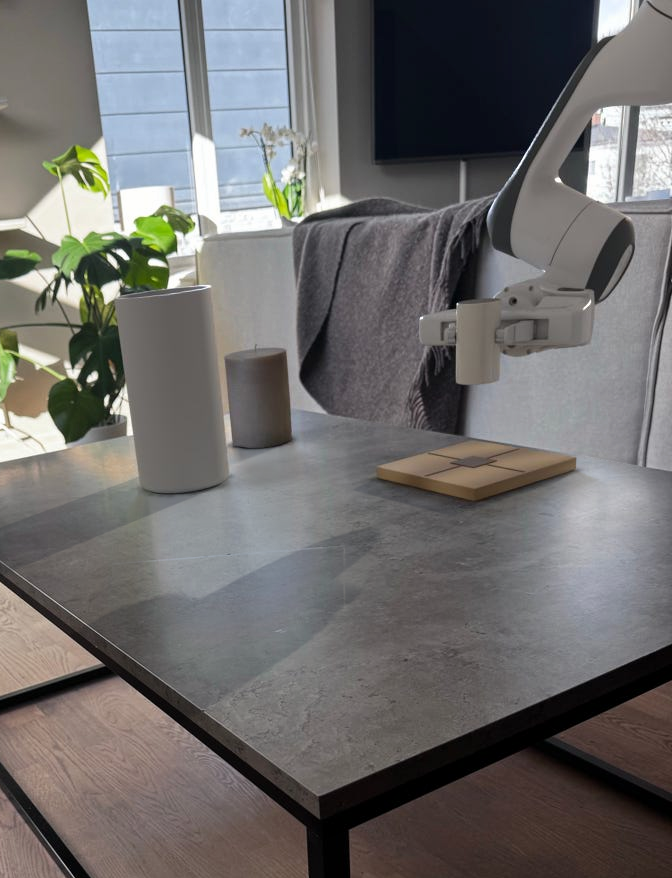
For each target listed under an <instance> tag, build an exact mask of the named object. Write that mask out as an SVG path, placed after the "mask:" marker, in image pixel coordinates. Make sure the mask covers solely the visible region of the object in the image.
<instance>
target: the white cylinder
mask: <svg viewBox="0 0 672 878" xmlns="http://www.w3.org/2000/svg"><path fill="white" fill-rule="evenodd" d="M455 307H456V308H455V309H456V345H455V383H456V384H458V385H463V386H479V385H488V384H493V383H497V382H499V381H500V379H501V352H500V350H501V344H497V343H496V341H495V338H496V337H497V336H496V329H497V328H498V327H501V313H502V299H498V298H493V297H492V298H490V297H489V298H476V299H475V298H474V299H468V300H462V301H458V302H456V305H455Z"/></svg>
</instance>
